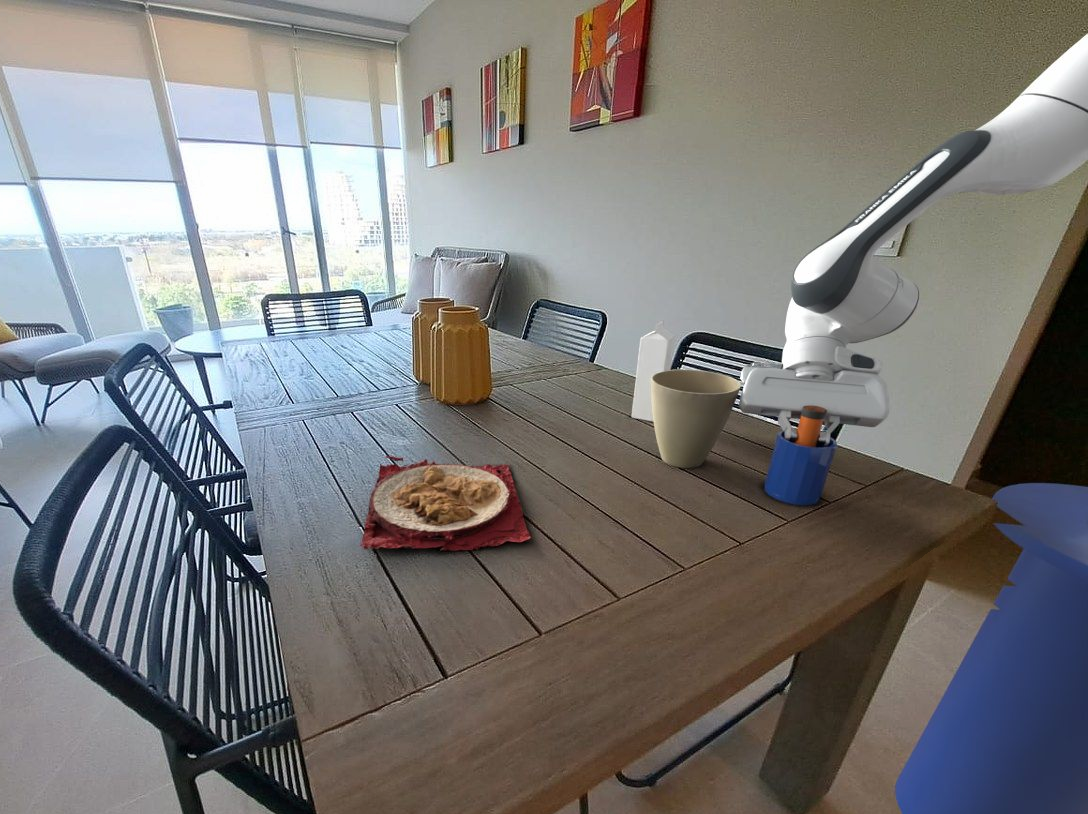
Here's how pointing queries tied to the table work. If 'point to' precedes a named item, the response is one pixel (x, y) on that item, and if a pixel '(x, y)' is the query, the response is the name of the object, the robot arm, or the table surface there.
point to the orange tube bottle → (810, 425)
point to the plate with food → (443, 507)
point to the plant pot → (690, 413)
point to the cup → (798, 471)
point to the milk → (651, 368)
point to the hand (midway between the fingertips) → (806, 442)
